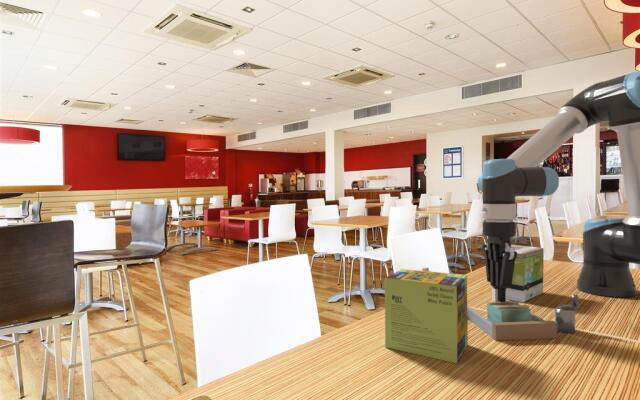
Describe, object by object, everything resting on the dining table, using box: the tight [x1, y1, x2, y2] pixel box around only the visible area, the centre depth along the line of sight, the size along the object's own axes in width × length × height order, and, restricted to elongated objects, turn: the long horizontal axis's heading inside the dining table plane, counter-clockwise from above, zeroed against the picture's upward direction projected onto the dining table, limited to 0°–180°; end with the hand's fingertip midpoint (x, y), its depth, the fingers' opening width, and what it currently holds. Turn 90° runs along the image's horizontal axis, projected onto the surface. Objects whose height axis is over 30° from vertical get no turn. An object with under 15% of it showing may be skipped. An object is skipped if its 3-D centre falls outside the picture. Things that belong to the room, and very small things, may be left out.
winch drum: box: [554, 294, 579, 334], centre depth 90 cm, size 5×4×8 cm
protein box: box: [384, 268, 469, 364], centre depth 83 cm, size 10×15×16 cm
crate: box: [486, 300, 532, 323], centre depth 93 cm, size 7×7×6 cm
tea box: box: [506, 244, 545, 303], centre depth 119 cm, size 15×10×15 cm, turn 131°
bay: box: [467, 299, 558, 341], centre depth 96 cm, size 14×22×4 cm, turn 2°
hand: (498, 312), depth 97 cm, fingers closed
